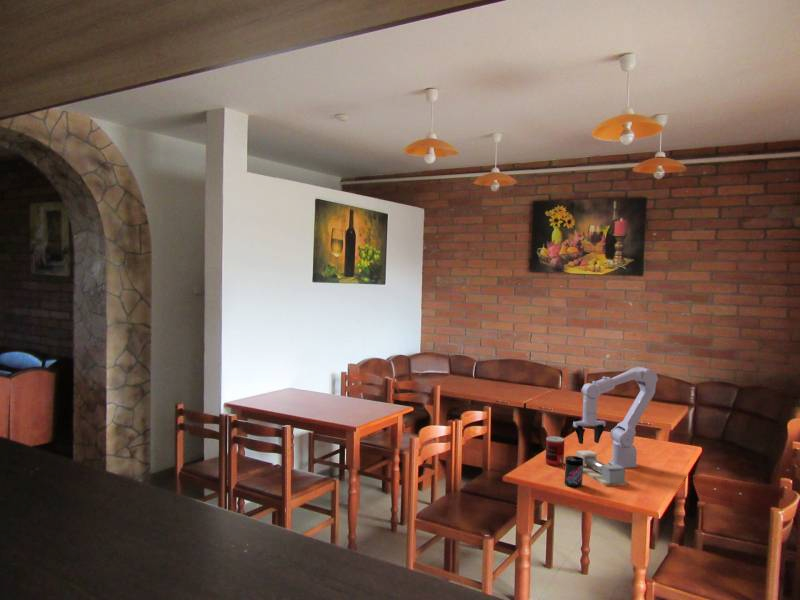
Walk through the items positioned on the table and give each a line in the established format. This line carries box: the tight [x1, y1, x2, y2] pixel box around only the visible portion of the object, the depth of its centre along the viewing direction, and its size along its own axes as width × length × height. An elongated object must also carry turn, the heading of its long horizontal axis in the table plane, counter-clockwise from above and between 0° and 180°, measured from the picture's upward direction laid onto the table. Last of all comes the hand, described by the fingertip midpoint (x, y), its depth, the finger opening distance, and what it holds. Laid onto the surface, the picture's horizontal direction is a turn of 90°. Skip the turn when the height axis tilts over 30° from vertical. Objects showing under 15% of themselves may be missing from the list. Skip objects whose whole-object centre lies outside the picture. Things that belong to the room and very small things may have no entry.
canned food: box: [545, 435, 565, 467], centre depth 249 cm, size 8×8×11 cm
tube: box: [584, 456, 606, 474], centre depth 236 cm, size 19×4×4 cm, turn 14°
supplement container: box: [564, 455, 584, 489], centre depth 224 cm, size 7×7×10 cm
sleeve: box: [575, 450, 598, 467], centre depth 246 cm, size 5×7×5 cm
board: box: [583, 464, 630, 487], centre depth 237 cm, size 27×10×1 cm, turn 14°
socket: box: [602, 464, 626, 483], centre depth 227 cm, size 5×7×5 cm
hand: (588, 442), depth 248 cm, fingers open, 7 cm apart
